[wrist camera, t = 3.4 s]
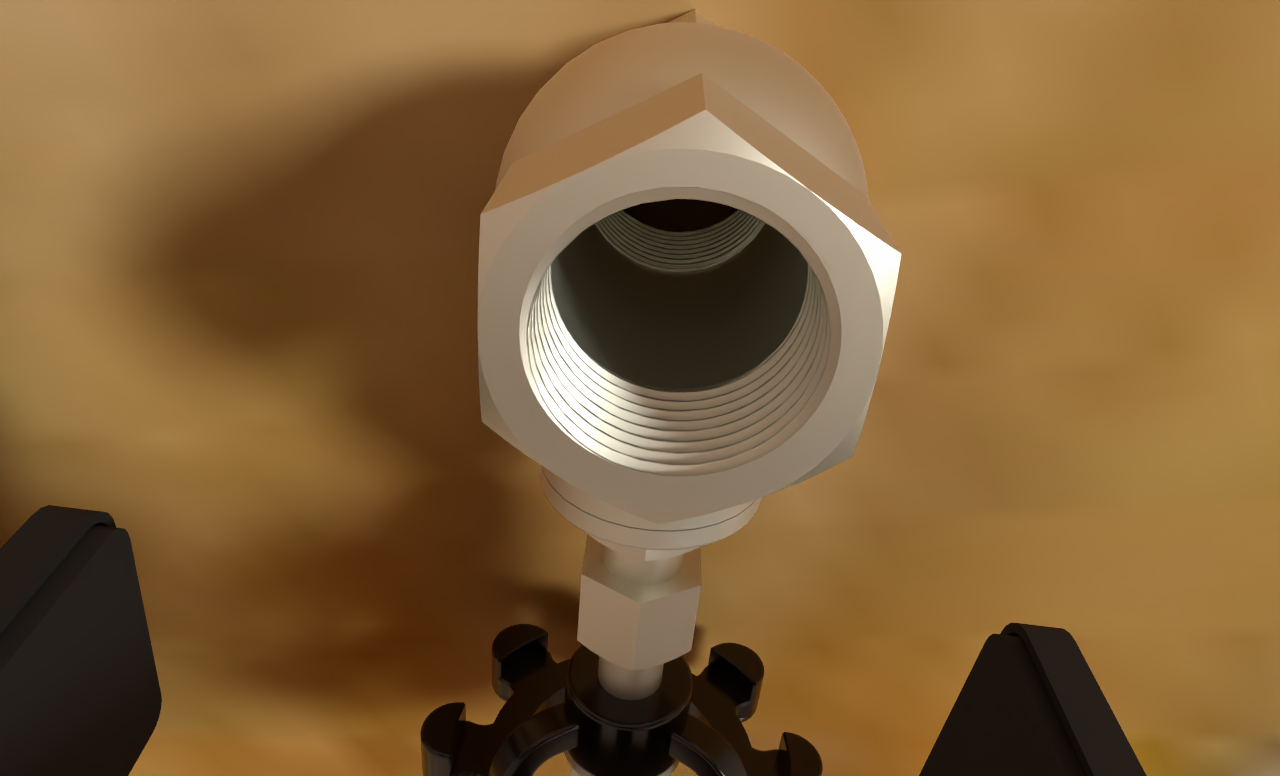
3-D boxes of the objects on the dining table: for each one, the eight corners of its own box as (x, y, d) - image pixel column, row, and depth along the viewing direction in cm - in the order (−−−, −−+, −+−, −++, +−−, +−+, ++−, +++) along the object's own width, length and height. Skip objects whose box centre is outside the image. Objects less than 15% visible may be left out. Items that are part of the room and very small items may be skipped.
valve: (453, -31, 12) (465, 623, 18) (242, 41, 6) (361, 972, 12) (939, 15, 12) (791, 654, 18) (1176, 129, 6) (842, 1015, 12)
